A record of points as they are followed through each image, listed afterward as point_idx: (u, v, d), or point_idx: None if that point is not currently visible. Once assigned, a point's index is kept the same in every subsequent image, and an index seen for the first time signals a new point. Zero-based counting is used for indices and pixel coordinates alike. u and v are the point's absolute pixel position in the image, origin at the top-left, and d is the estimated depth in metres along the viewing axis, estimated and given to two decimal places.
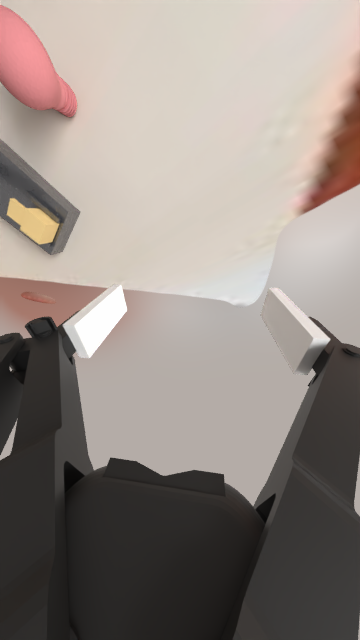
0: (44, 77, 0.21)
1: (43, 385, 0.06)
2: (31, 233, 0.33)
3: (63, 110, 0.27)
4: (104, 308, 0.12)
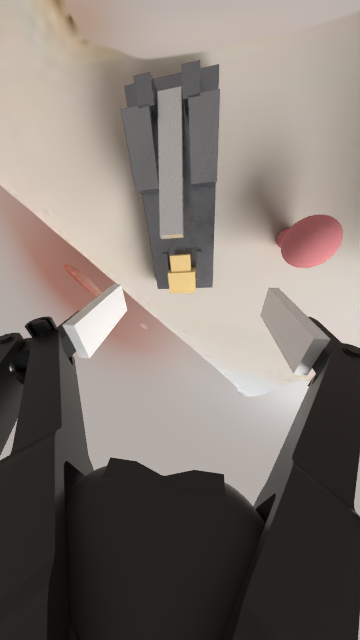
0: None
1: (43, 385, 0.06)
2: (174, 283, 0.31)
3: None
4: (104, 308, 0.12)
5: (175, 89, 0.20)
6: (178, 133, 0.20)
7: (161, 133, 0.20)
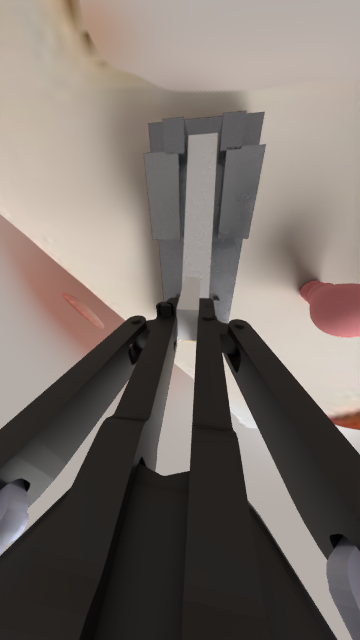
0: None
1: (150, 364, 0.07)
2: None
3: (307, 300, 0.27)
4: None
5: (209, 134, 0.17)
6: (210, 187, 0.17)
7: (190, 185, 0.17)
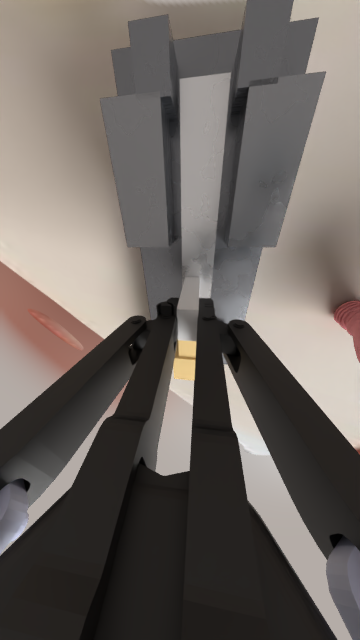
0: None
1: (150, 364, 0.07)
2: (181, 370, 0.21)
3: (345, 327, 0.20)
4: None
5: (216, 75, 0.09)
6: (214, 190, 0.12)
7: (186, 186, 0.12)
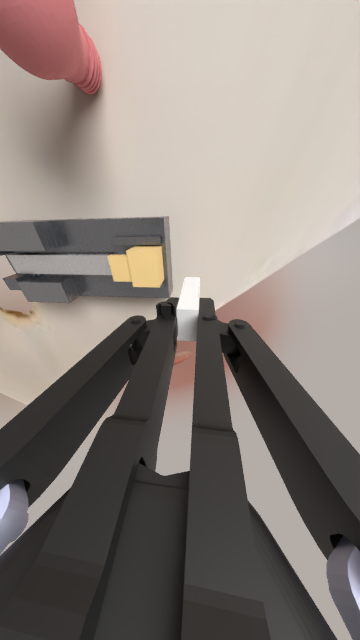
0: None
1: (150, 365, 0.07)
2: (145, 280, 0.23)
3: (90, 71, 0.16)
4: None
5: (10, 259, 0.26)
6: (36, 258, 0.26)
7: (41, 271, 0.27)
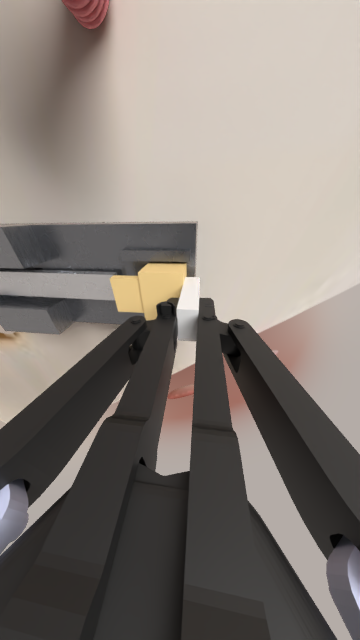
0: None
1: (150, 364, 0.07)
2: None
3: None
4: None
5: None
6: (14, 275, 0.18)
7: (22, 292, 0.20)
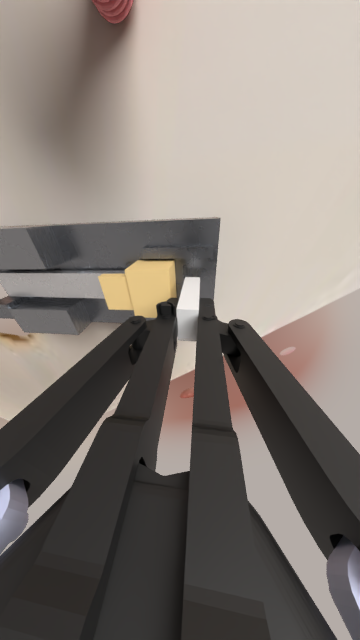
0: None
1: (150, 364, 0.07)
2: (153, 309, 0.16)
3: None
4: None
5: None
6: (34, 277, 0.19)
7: (41, 293, 0.20)
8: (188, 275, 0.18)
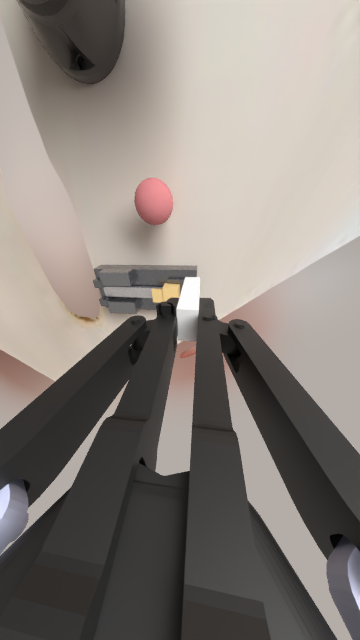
0: (170, 194, 0.29)
1: (150, 364, 0.07)
2: None
3: None
4: None
5: None
6: (120, 288, 0.44)
7: (121, 295, 0.46)
8: None
